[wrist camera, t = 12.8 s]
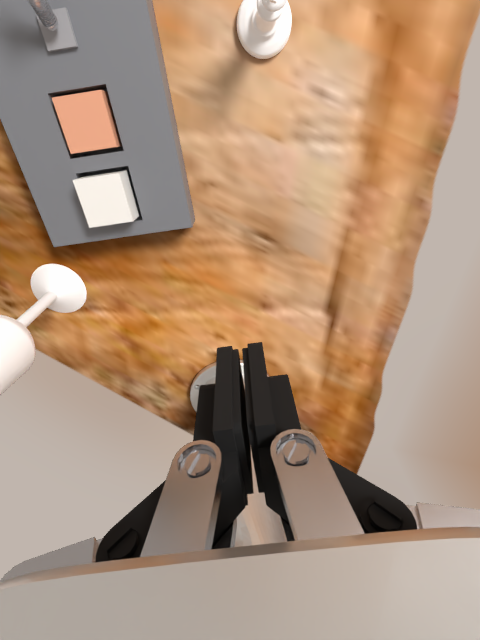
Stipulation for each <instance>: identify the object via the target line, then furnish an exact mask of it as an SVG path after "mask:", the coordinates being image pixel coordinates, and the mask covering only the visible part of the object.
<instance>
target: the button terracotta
mask: <svg viewBox="0 0 480 640" xmlns="http://www.w3.org/2000/svg"><path fill="white" fill-rule="evenodd" d="M52 101H53V103H54V106H55V109H56V112H57V115H58V118H59V121H60V124H61V127H62V130H63V133H64V135H65V138H66V141H67V144H68V147H69V150H70V153H71V154H74V153H82V152H88V151H95V150H101V149H108V148H114V147H121V146H122V142H121V138H120V135H119V131H118V127H117V124H116V120H115V116H114V113H113V109H112V105H111V102H110V98H109V94H108V92H106V91H103V90H96V91H90V92H84V93H77V94H71V95H65V96H59V97H53V98H52Z"/></svg>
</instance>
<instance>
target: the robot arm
mask: <svg viewBox="0 0 480 640" xmlns="http://www.w3.org/2000/svg"><path fill="white" fill-rule="evenodd" d="M242 351H243V360H240V358H239V352H238V349H235V350H233V349H232V346H228V347H220V348H217V359H216V362H215V363H213V364H210V365H208V366H207V367H205V368H204V369H202V370H201V371H200V372H199V373H198V374H197V375H196V377H195V378H194V380H193V382H192V385H191V390H190V400H191V404H192V406H193V408H194V410H195V411H196V412H197V413H196V421H195V430H194V440H193V442H191V443H188V444H186V445H185V446H183V447H182V448H181V449H180V450H179V451H178V452H177V453H176V455H175V457H174V459H173V461H172V464H171V467H170V470H169V473H168V476H167V478H166V480H165V481H164V482H163V483H162V484H161V485H160V486H159V487H158V488H157V489H155V490H154V491H153V492H152V493H151V494H150V495H149V496H147V497H146V498H145V499H144V500H143V501H142V502H141V503H140V504H138V505H137V506H136V507H135V508H134V509H133V510H132V511H131V512H129V513H128V514H127V515H126V516H125V517H124V518H123V519H122V520H120V521H119V522H118V523H117V524H116V525H115V526H114V527H113V528H112V529H110V531H109V532H108V533H107V534H106V535H105V536H104V538H102V539H99V540H96V539H95V537H93V538H90V539H87V540H85V541H81V542H78V543H76V544H73V545H70V546H67V547H64V548H61V549H58V550H55V551H52V552H50V553H47V554H44V555H41V556H38V557H35V558H32V559H29V560H27V561H24V562H22V563H20V564H18V565H16V566H15V567H13V568H12V569H11V570H10V571H9V572H8V573H6V574H5V576H4V577H3V578H2V579H1V580H0V640H480V510H479V509H471V508H462V507H454V506H444V505H435V504H427V503H419V502H417V504H416V506H410V505H405V504H404V503H403V502H401V501H400V500H398V499H397V498H396V497H394V496H393V495H391V494H389V493H387V492H386V491H384V490H382V489H381V488H379V487H377V486H375V485H374V484H372V483H370V482H368V481H367V480H365V479H363V478H362V477H360V476H358V475H356V474H355V473H353V472H351V471H350V470H348V469H346V468H344V467H343V466H341V465H339V464H338V463H336V462H334V461H332V460H331V459H329V458H327V456H326V454H325V452H324V450H323V448H322V446H321V444H320V442H319V441H318V439H317V438H316V437H315V436H314V435H312V434H311V433H309V432H307V431H304V430H301V427H300V423H299V419H298V415H297V410H296V406H295V402H294V398H293V394H292V390H291V386H290V382H289V378H288V375H278V376H270V377H269V375H268V374H267V371H266V365H265V358H264V352H263V346H262V342H259V343H251V344H248V348H243V349H242Z"/></svg>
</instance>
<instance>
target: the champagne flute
mask: <svg viewBox="0 0 480 640" xmlns="http://www.w3.org/2000/svg"><path fill="white" fill-rule="evenodd" d="M31 288H32V291H33V293H34V295H35V296H36V298H37V299H38V301H37V302H36V303H35V304H34V305H33V306H32V307H30V308H29V309H28V310H27V311H26V312H25V313H24V314H22V315H21V316H20V317H19V318H18V319H17V320H15V319H13V318H11V317H8V316H4V315H0V395H1V394H2V393H3V392H4V391H6V390H7V389H8V388H9V387H10V386H11V385H12V384H13V383H14V382H15V381H16V380H17V379H18V378H20V377H21V376H22V375H23V374H24V373H25V372H26V371H27V370H28V369H29V368H30V366H31V365H32V364H33V361H34V358H35V344H34V340H33V337H32V335H31V333H30V332H29V330H28V329H27V328H26V327H27V326H28V325H29V324H30V323H31V322H33V321H34V320H35V319H36V318H37V317H38V316H39V315H40V314H41V313H42V312H43V311H44V310H45V309H46V308H49V309H51V310H54V311H57V312H62V313H68V312H73V311H76V310H78V309H79V308H81V307H82V306H83V304H84V303H85V300H86V295H87V293H86V288H85V285H84V283H83V281H82V279H81V278H80V277H79V276H78V275H77V274H76V273H75V272H74V271H72V270H71V269H69V268H67V267H65V266H62V265H58V264H46V265H43V266H40V267H39V268H37V269H36V270H35V271H34V273H33V275H32V278H31Z"/></svg>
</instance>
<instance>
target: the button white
mask: <svg viewBox="0 0 480 640" xmlns="http://www.w3.org/2000/svg"><path fill="white" fill-rule="evenodd" d="M73 183H74V186H75V189H76V192H77V194H78V197H79V200H80V203H81V206H82V208H83V211H84V214H85V217H86V220H87V223H88V225H89V228H92V227H99V226H106V225H112V224H119V223H126V222H133V221H134V220H135V219H136V218H137V217H139V214H138V210H137V206H136V203H135V199H134V196H133V192H132V188H131V185H130V181H129V178H128V174H127V170H126V171H119V172H112V173H106V174H99V175H93V176H86V177H81V178H78V179H74V180H73Z"/></svg>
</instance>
